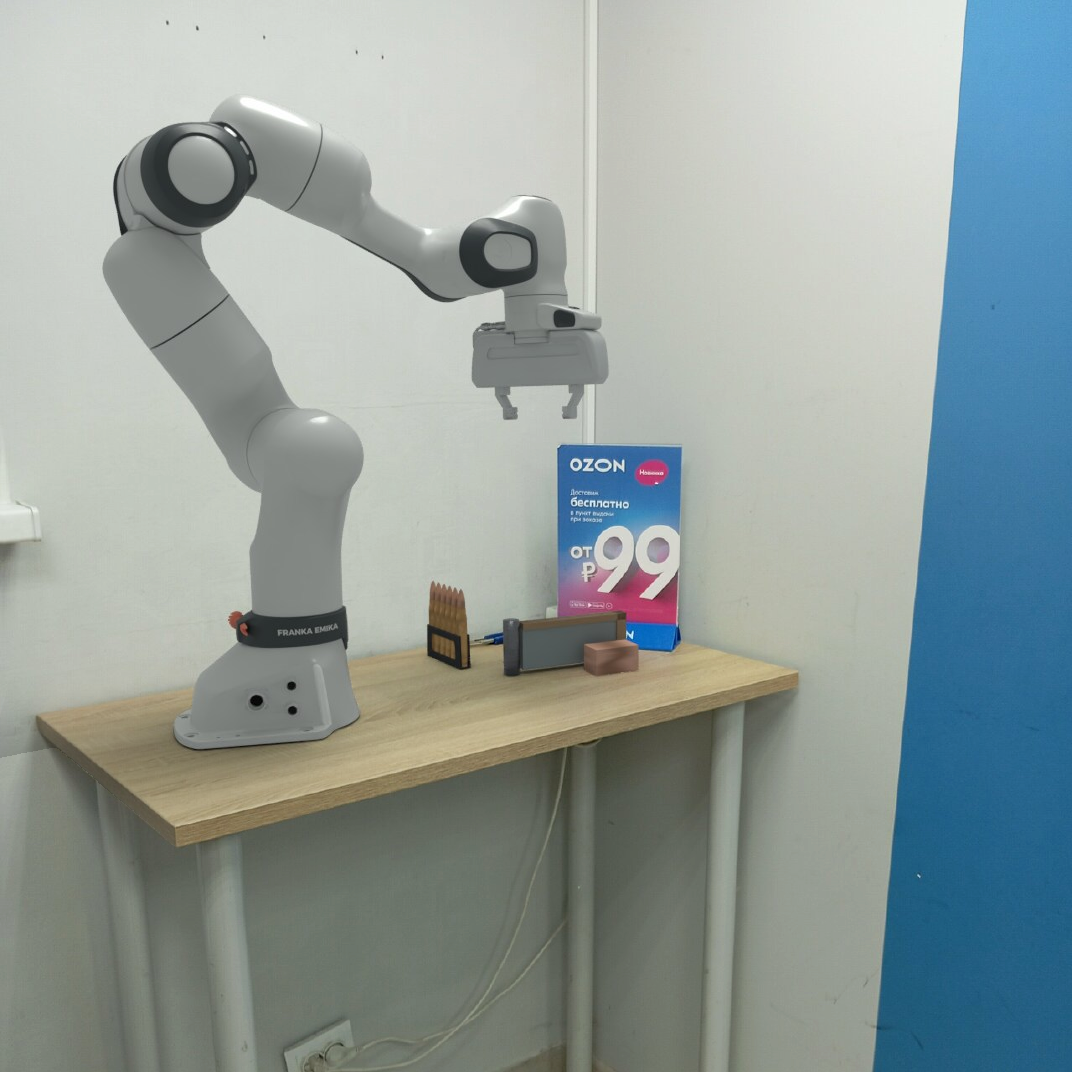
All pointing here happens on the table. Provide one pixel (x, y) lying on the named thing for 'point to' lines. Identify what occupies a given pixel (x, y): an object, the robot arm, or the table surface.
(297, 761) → the table surface
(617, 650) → the block
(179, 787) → the table surface
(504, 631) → the hinge post
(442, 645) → the ammunition clip
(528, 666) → the gate
